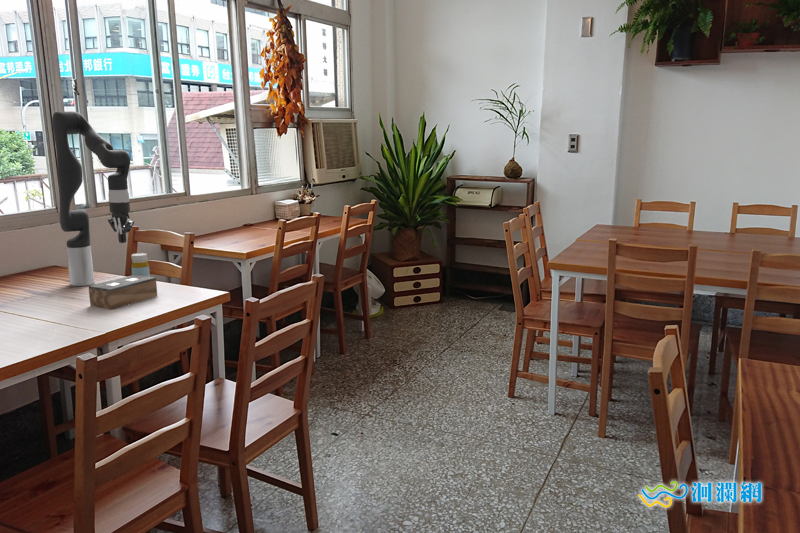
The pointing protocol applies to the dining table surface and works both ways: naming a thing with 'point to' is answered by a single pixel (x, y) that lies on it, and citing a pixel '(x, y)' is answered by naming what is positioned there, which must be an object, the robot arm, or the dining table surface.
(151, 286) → the walnut block
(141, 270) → the bottle
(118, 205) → the robot arm
